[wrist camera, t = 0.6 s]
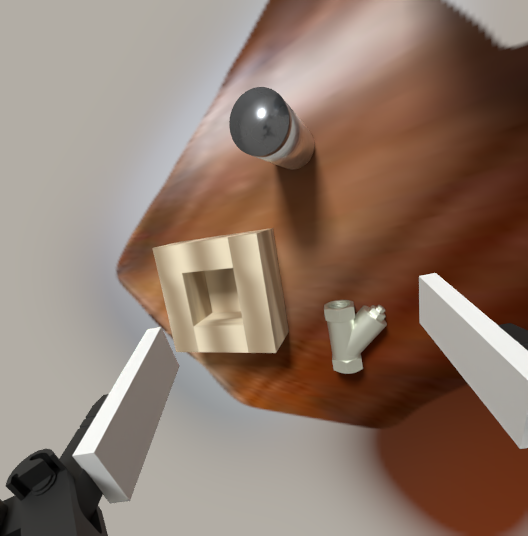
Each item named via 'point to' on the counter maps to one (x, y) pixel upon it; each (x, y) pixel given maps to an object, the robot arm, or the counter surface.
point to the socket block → (224, 293)
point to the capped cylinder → (270, 129)
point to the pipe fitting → (351, 332)
